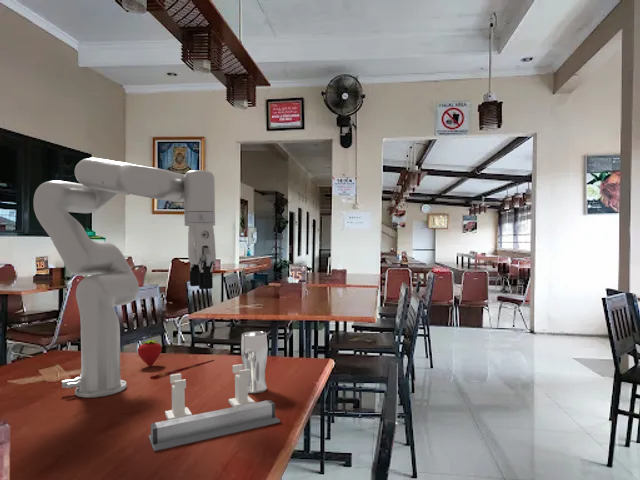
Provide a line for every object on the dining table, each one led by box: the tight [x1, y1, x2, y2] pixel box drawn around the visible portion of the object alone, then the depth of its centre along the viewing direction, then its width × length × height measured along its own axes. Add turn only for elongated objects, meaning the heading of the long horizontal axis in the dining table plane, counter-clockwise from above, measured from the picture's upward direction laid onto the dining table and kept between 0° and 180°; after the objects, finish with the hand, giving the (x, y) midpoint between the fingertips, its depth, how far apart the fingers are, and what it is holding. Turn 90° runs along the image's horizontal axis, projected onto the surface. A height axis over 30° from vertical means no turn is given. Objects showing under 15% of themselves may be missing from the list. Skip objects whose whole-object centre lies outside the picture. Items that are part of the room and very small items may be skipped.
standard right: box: [228, 363, 256, 407], centre depth 108 cm, size 5×6×9 cm
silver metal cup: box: [240, 330, 268, 394], centre depth 118 cm, size 7×7×15 cm
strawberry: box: [137, 335, 163, 367], centre depth 144 cm, size 6×8×10 cm
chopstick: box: [149, 359, 215, 380], centre depth 140 cm, size 2×24×1 cm, turn 147°
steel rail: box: [150, 399, 276, 444], centre depth 93 cm, size 26×3×3 cm, turn 119°
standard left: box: [164, 372, 193, 420], centre depth 101 cm, size 5×6×9 cm
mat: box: [148, 416, 281, 452], centre depth 93 cm, size 26×7×1 cm, turn 119°
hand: (200, 287), depth 111 cm, fingers open, 9 cm apart
